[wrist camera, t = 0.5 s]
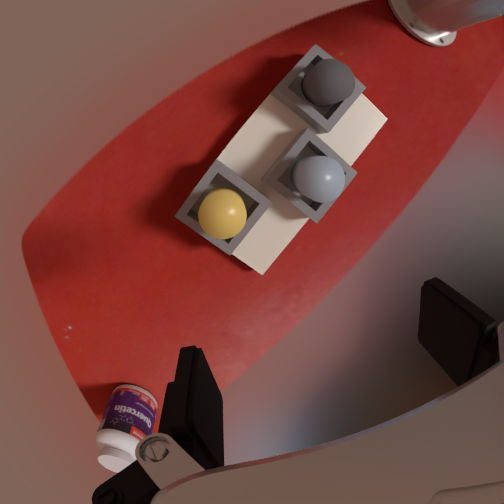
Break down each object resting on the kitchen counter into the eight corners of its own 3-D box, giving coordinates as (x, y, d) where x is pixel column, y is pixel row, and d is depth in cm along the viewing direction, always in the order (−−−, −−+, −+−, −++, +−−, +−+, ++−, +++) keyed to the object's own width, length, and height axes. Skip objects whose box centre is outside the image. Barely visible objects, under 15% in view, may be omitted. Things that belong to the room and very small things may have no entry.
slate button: (308, 147, 28) (320, 146, 24) (338, 173, 29) (353, 176, 25) (282, 178, 29) (290, 182, 25) (313, 204, 30) (325, 211, 26)
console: (306, 54, 28) (318, 40, 24) (379, 120, 31) (400, 117, 27) (178, 211, 33) (170, 220, 29) (260, 268, 36) (265, 286, 32)
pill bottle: (165, 395, 42) (152, 467, 29) (148, 418, 44) (135, 483, 31) (120, 373, 40) (95, 443, 27) (108, 398, 42) (85, 462, 29)
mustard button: (219, 178, 28) (217, 182, 25) (252, 203, 29) (256, 211, 26) (193, 212, 29) (188, 220, 25) (227, 235, 30) (227, 248, 26)
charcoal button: (316, 61, 25) (329, 50, 21) (347, 88, 26) (363, 80, 22) (292, 88, 26) (302, 79, 22) (324, 114, 27) (338, 110, 23)
